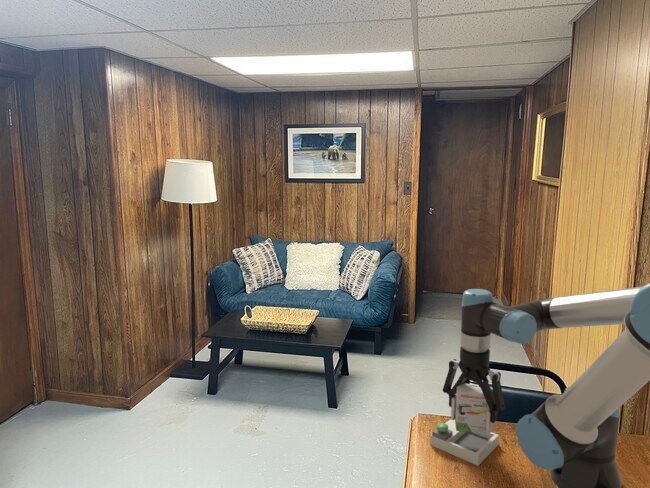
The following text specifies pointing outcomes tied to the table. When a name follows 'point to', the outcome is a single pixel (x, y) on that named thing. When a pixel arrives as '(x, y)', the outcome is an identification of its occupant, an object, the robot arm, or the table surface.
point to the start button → (442, 427)
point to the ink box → (470, 409)
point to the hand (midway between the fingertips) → (471, 424)
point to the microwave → (465, 443)
